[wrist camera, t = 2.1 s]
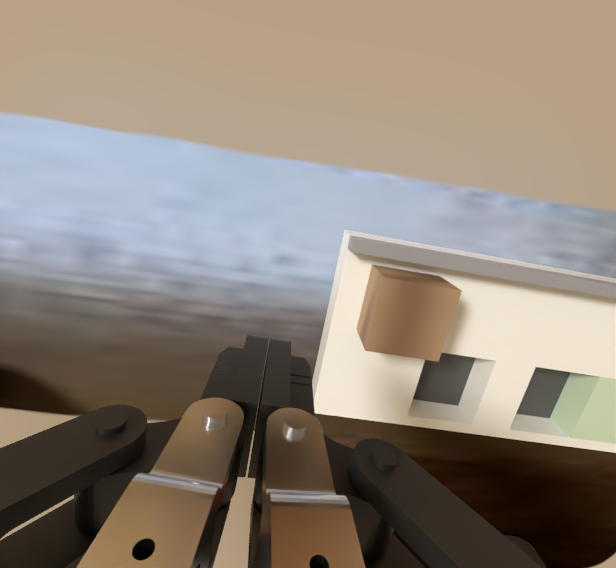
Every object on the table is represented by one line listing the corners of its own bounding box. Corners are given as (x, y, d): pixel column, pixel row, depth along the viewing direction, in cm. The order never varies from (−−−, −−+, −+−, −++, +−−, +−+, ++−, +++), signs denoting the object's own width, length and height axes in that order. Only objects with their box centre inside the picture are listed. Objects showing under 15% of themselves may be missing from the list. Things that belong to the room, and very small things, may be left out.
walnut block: (440, 276, 22) (462, 290, 19) (420, 338, 23) (438, 361, 20) (372, 264, 21) (384, 277, 18) (356, 329, 23) (365, 350, 20)
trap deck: (706, 294, 25) (813, 324, 20) (628, 435, 29) (702, 491, 24) (344, 229, 23) (359, 244, 18) (310, 391, 27) (313, 443, 22)
